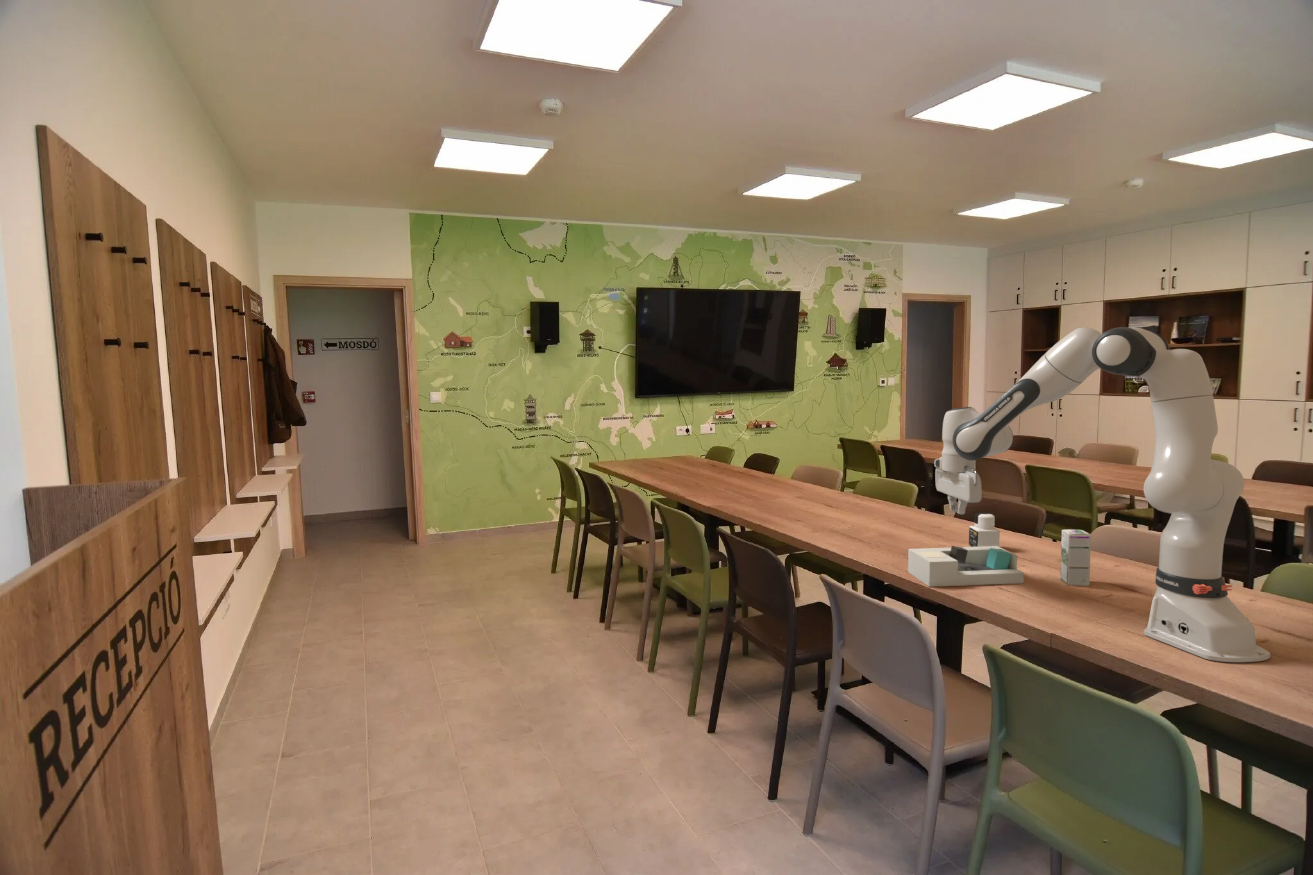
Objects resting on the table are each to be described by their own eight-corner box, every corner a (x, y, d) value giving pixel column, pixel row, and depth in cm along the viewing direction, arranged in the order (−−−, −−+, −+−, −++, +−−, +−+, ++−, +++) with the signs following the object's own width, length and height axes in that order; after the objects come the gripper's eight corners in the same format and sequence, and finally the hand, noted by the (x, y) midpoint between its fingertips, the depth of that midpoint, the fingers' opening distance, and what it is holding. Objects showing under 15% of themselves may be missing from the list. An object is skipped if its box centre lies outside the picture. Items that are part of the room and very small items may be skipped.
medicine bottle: (968, 546, 234) (969, 511, 232) (989, 546, 233) (990, 511, 232) (977, 552, 226) (978, 515, 225) (999, 551, 226) (1000, 515, 225)
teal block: (1006, 571, 198) (1010, 553, 198) (993, 569, 198) (997, 551, 198) (999, 567, 202) (1002, 550, 202) (986, 565, 202) (989, 547, 202)
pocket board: (1023, 583, 194) (1024, 558, 193) (929, 586, 192) (929, 561, 191) (996, 568, 208) (997, 545, 207) (908, 572, 206) (908, 548, 205)
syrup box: (1090, 586, 190) (1092, 534, 189) (1066, 585, 191) (1068, 533, 190) (1082, 579, 196) (1084, 529, 194) (1059, 579, 197) (1061, 528, 195)
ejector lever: (1007, 574, 199) (1011, 557, 198) (953, 565, 198) (957, 548, 197) (1001, 571, 202) (1005, 554, 202) (948, 562, 201) (951, 545, 200)
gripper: (988, 469, 186) (987, 519, 188) (952, 459, 207) (951, 505, 208) (965, 469, 186) (964, 520, 187) (931, 460, 206) (930, 505, 208)
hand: (957, 512), depth 198 cm, fingers open, 3 cm apart
